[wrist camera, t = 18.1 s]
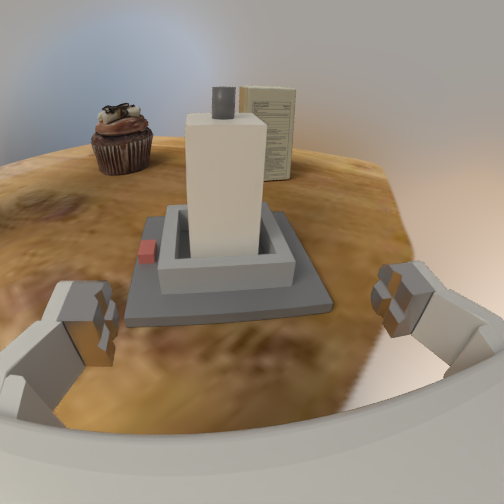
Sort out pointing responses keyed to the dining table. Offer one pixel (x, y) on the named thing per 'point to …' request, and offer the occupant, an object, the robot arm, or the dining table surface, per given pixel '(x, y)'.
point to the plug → (224, 178)
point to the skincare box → (273, 124)
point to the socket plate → (221, 277)
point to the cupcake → (122, 140)
